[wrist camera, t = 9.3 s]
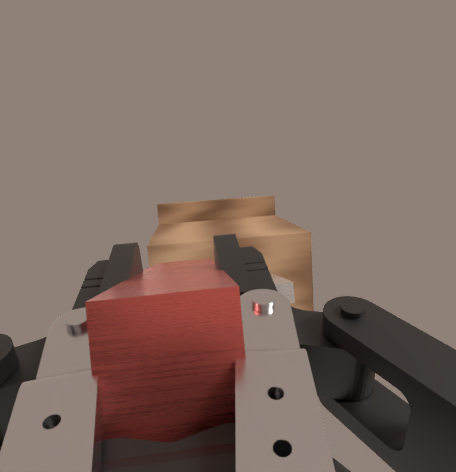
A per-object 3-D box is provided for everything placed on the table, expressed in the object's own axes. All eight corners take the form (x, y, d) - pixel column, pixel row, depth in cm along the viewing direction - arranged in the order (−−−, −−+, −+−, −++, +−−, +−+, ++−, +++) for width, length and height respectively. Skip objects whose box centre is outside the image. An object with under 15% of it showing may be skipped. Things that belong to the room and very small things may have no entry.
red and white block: (-152, 490, 6) (-165, 328, 6) (118, 297, 28) (115, 261, 28) (466, 407, 7) (453, 263, 7) (261, 282, 28) (258, 247, 28)
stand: (185, 617, 34) (144, 218, 28) (185, 495, 47) (157, 204, 41) (322, 594, 35) (309, 205, 29) (286, 481, 48) (272, 195, 42)
